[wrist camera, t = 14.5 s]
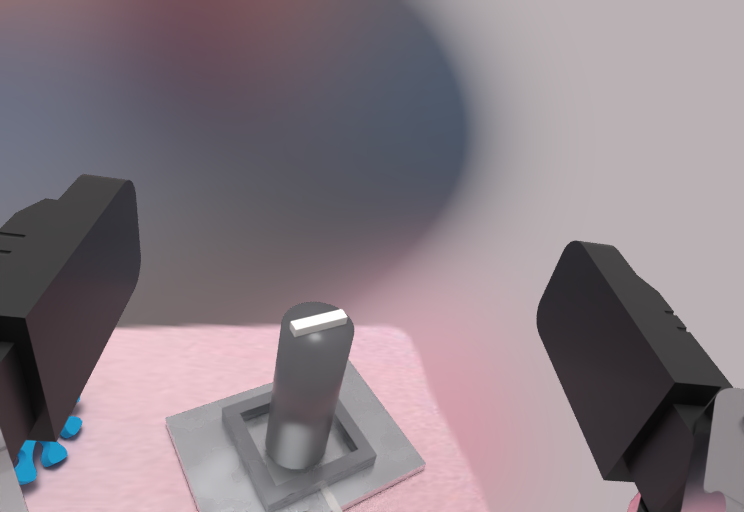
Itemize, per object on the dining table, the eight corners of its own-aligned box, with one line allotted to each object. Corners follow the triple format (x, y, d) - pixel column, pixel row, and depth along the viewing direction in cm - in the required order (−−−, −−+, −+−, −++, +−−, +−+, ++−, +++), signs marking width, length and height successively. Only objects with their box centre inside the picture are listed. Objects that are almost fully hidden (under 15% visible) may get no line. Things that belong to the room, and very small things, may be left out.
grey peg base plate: (226, 585, 32) (227, 569, 31) (166, 424, 40) (164, 407, 39) (429, 478, 41) (436, 462, 39) (345, 363, 49) (349, 348, 48)
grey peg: (279, 478, 37) (301, 354, 30) (256, 427, 40) (270, 303, 33) (336, 455, 40) (369, 335, 33) (310, 409, 43) (335, 289, 36)
